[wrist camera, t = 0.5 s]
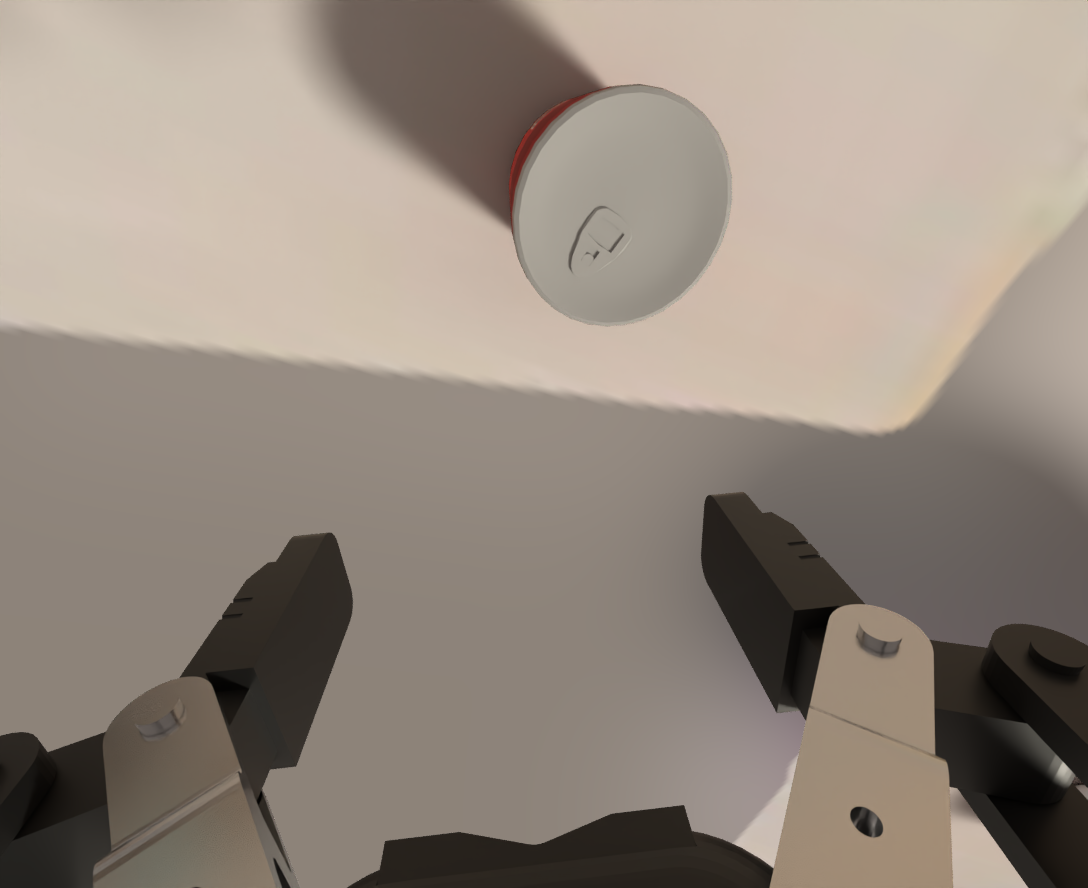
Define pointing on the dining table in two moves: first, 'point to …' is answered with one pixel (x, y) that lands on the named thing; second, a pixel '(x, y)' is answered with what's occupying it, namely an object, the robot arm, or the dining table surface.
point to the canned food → (619, 203)
